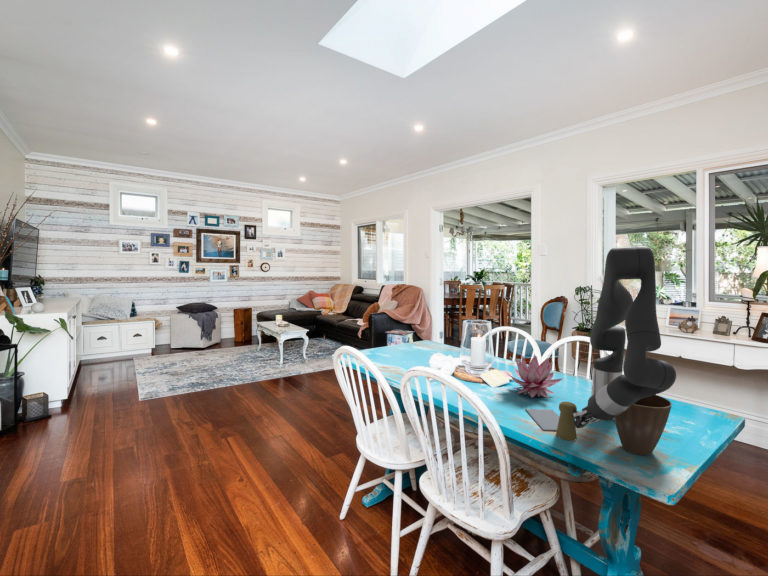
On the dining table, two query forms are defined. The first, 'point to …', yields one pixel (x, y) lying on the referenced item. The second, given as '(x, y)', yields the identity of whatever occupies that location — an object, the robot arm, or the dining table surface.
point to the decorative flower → (535, 377)
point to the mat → (545, 418)
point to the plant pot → (643, 424)
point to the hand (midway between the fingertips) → (577, 425)
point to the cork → (566, 421)
